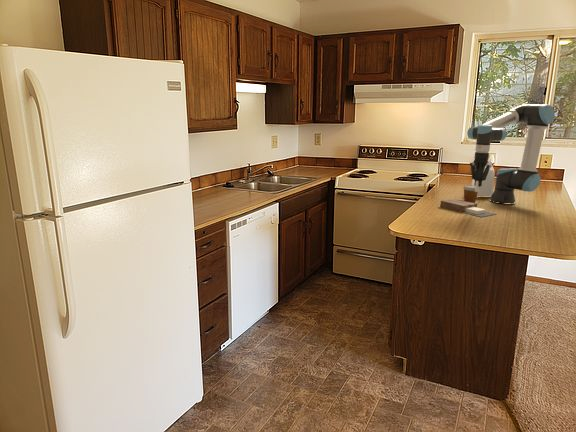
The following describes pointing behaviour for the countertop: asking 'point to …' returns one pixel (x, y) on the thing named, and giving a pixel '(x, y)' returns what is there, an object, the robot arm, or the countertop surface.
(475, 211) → the coaster
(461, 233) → the countertop surface
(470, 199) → the disposable coffee cup
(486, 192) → the milk
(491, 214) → the rubber mat
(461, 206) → the walnut board
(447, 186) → the countertop surface
